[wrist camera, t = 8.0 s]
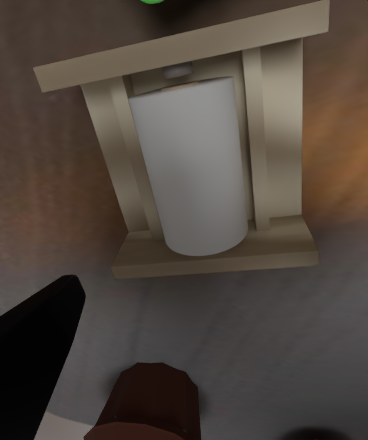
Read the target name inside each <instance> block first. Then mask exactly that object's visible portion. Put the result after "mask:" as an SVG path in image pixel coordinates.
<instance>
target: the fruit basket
mask: <svg viewBox="0 0 368 440" xmlns="http://www.w3.org/2000/svg"><path fill="white" fill-rule="evenodd" d="M140 1H142V2H144V3H147V4H155V3H160V2H162V1H163V0H140Z"/></svg>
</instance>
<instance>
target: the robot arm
mask: <svg viewBox="0 0 368 440" xmlns="http://www.w3.org/2000/svg"><path fill="white" fill-rule="evenodd" d="M85 298H86V296H85V292H84V289H83V287H82V285H81V283H80V281H79V279H78V277H77V276H76V275H64V276H61V277H60V278H58V279H57V280H55V281H54V282H52V283H51V284H49V285H48V286H46V287H45V288H43V289H41V290H40V291H38V292H37V293H35V294H34V295H32V296H31V297H29V298H28V299H26V300H25V301H23V302H21V303H20V304H18V305H17V306H15V307H14V308H12V309H11V310H9V311H8V312H6V313H5V314H3V315H1V316H0V440H34V438H35V435H36V433H37V430H38V428H39V425H40V423H41V420H42V418H43V416H44V413H45V411H46V408H47V406H48V403H49V401H50V398H51V396H52V393H53V391H54V388H55V386H56V383H57V381H58V378H59V376H60V373H61V371H62V368H63V366H64V363H65V361H66V358H67V356H68V354H69V351H70V348H71V346H72V343H73V340H74V337H75V334H76V330H77V327H78V323H79V320H80V317H81V313H82V310H83V306H84V303H85Z"/></svg>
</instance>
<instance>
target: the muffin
mask: <svg viewBox="0 0 368 440" xmlns="http://www.w3.org/2000/svg"><path fill="white" fill-rule="evenodd" d="M84 440H201V430H200V416H199V403H198V390H197V386H196V385H195V384H194V383H193V382H192V381H191V380H190V378H189V376H188V375H187V373H186V372H184V371H181V370H178V369H175V368H173V367H171V366H169V365H167V364H164V363H136V364H135V365H134V366H132V367H131V368H129V369H127V370H124V371H122V372H121V374H120V376H119V379H118V381H117V383H116V385H115V387H114V389H113V391H112V393H111V395H110V397H109V399H108V401H107V403H106V405H105V407H104V409H103V411H102V413H101V415H100V417H99V419H98V421H97V423H96V425H95V426H94V427H93V428H92V429H91V430H90V431H89V432H88V433H87V434H86V435H85V436H84Z"/></svg>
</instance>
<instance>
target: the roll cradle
mask: <svg viewBox="0 0 368 440" xmlns="http://www.w3.org/2000/svg"><path fill="white" fill-rule="evenodd" d="M329 1H330V0H322V1H318V2H313V3H309V4H305V5H300V6H296V7H292V8H288V9H283V10H279V11H275V12H270V13H266V14H262V15H257V16H253V17H249V18H245V19H240V20H236V21H232V22H227V23H223V24H219V25H215V26H210V27H206V28H202V29H197V30H193V31H189V32H185V33H180V34H176V35H172V36H167V37H163V38H159V39H154V40H150V41H146V42H142V43H137V44H133V45H129V46H124V47H120V48H116V49H112V50H107V51H103V52H99V53H94V54H90V55H86V56H82V57H77V58H73V59H69V60H64V61H60V62H56V63H52V64H47V65H43V66H39V67H34V68H33V69H34V72H35V74H36V77H37V79H38V82H39V84H40V87H41V90H42V92H47V91H52V90H56V89H61V88H66V87H71V86H75V85H81V88H82V91H83V94H84V97H85V100H86V104H87V107H88V110H89V113H90V116H91V119H92V122H93V125H94V128H95V131H96V134H97V137H98V140H99V143H100V147H101V150H102V153H103V156H104V159H105V162H106V165H107V168H108V171H109V174H110V177H111V180H112V183H113V186H114V189H115V193H116V196H117V199H118V202H119V205H120V208H121V211H122V214H123V217H124V220H125V223H126V226H127V229H128V234H127V236H126V238H125V240H124V242H123V244H122V246H121V248H120V249H119V251H118V253H117V255H116V257H115V259H114V261H113V263H112V265H111V267H110V268H111V271H112V273H113V276H114V278H115V280H118V279H132V278H146V277H160V276H175V275H189V274H203V273H217V272H232V271H246V270H260V269H274V268H289V267H303V266H317V265H318V262H319V250H318V248H317V245H316V243H315V241H314V239H313V237H312V235H311V233H310V231H309V229H308V227H307V225H306V223H305V221H304V219H303V217H302V76H303V37H305V36H310V35H315V34H319V33H324V32H328V25H329ZM225 76H233V77H234V87H235V97H236V107H237V118H238V128H239V138H240V149H241V159H242V169H243V179H244V190H245V200H246V210H247V221H248V232H247V234H246V236H245V238H244V239H243V240H242V241H241V242H240V243H238V244H237V245H236V246H234V247H232V248H230V249H228V250H226V251H223V252H220V253H217V254H212V255H206V256H189V255H183V254H179V253H177V252H175V251H173V250H171V249H170V248H169V247H168V246H167V244H166V242H165V238H164V234H163V230H162V226H161V223H160V219H159V215H158V211H157V207H156V203H155V200H154V196H153V192H152V188H151V184H150V180H149V177H148V173H147V169H146V165H145V161H144V158H143V154H142V150H141V146H140V142H139V138H138V135H137V131H136V127H135V123H134V119H133V115H132V112H131V108H130V104H129V100H128V99H129V98H130V97H132V96H135V95H138V94H141V93H145V92H148V91H152V90H156V89H160V88H164V87H169V86H173V85H177V84H182V83H187V82H192V81H198V80H203V79H210V78H216V77H225Z"/></svg>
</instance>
